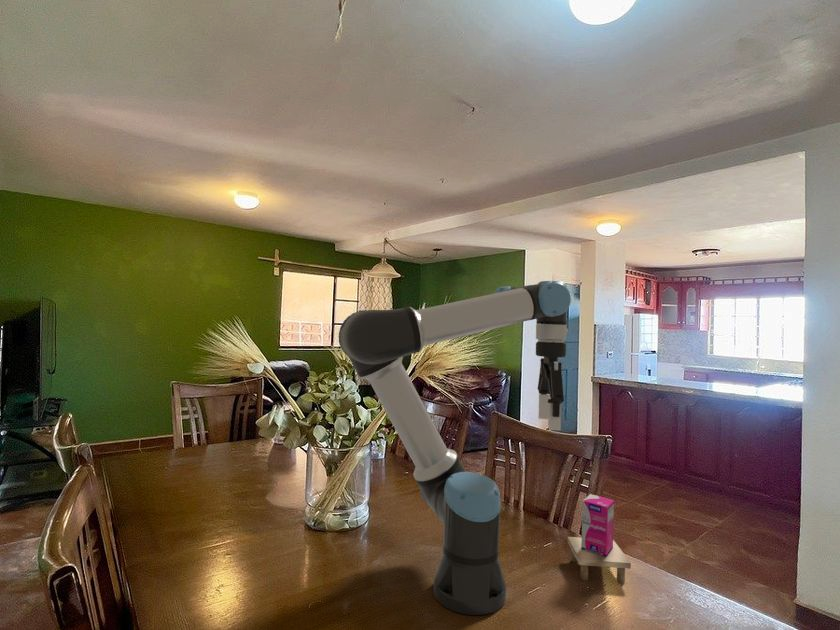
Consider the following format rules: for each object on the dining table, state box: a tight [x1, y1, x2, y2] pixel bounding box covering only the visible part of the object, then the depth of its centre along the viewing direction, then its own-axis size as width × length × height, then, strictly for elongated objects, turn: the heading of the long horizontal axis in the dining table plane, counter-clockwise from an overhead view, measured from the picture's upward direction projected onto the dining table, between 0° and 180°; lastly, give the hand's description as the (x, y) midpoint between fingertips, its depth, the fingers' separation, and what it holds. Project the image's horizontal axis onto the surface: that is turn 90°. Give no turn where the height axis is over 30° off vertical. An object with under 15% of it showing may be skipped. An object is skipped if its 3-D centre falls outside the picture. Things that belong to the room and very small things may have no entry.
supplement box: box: [581, 493, 615, 557], centre depth 106 cm, size 6×6×12 cm
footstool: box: [567, 536, 632, 585], centre depth 106 cm, size 11×11×5 cm
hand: (548, 424), depth 116 cm, fingers open, 13 cm apart
